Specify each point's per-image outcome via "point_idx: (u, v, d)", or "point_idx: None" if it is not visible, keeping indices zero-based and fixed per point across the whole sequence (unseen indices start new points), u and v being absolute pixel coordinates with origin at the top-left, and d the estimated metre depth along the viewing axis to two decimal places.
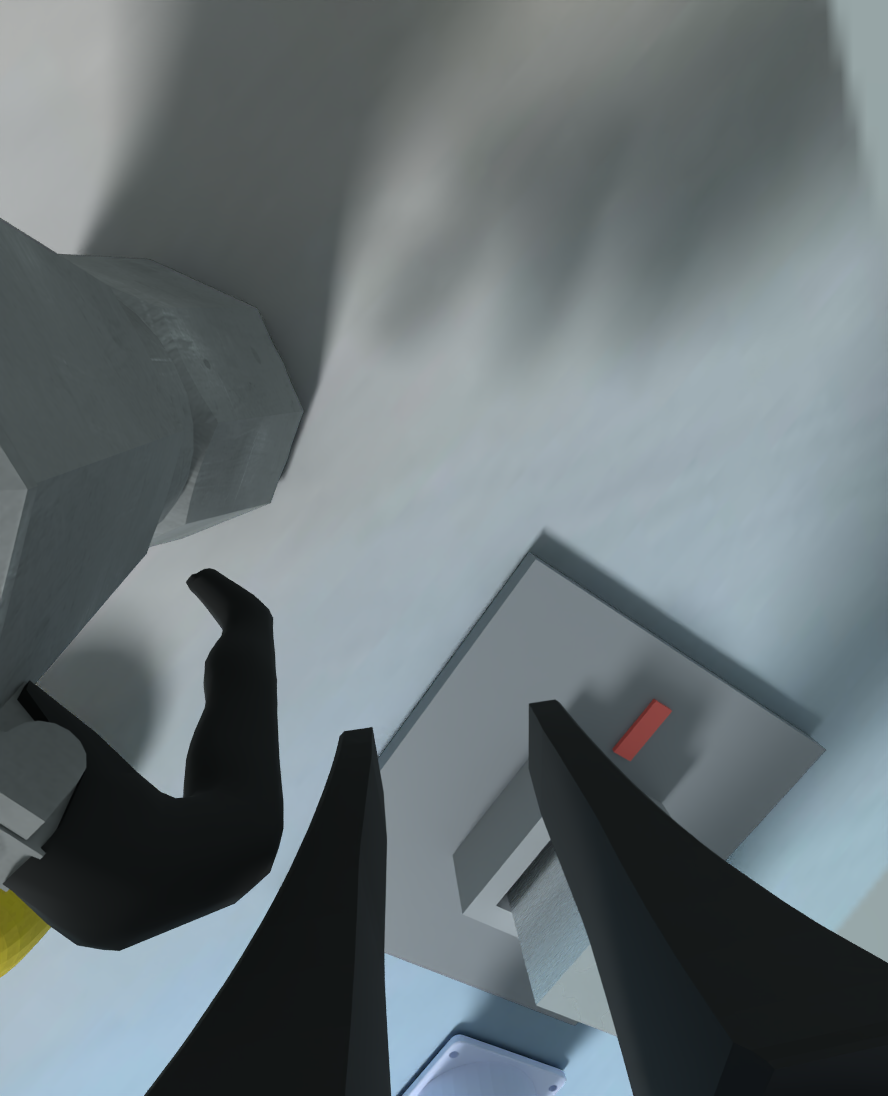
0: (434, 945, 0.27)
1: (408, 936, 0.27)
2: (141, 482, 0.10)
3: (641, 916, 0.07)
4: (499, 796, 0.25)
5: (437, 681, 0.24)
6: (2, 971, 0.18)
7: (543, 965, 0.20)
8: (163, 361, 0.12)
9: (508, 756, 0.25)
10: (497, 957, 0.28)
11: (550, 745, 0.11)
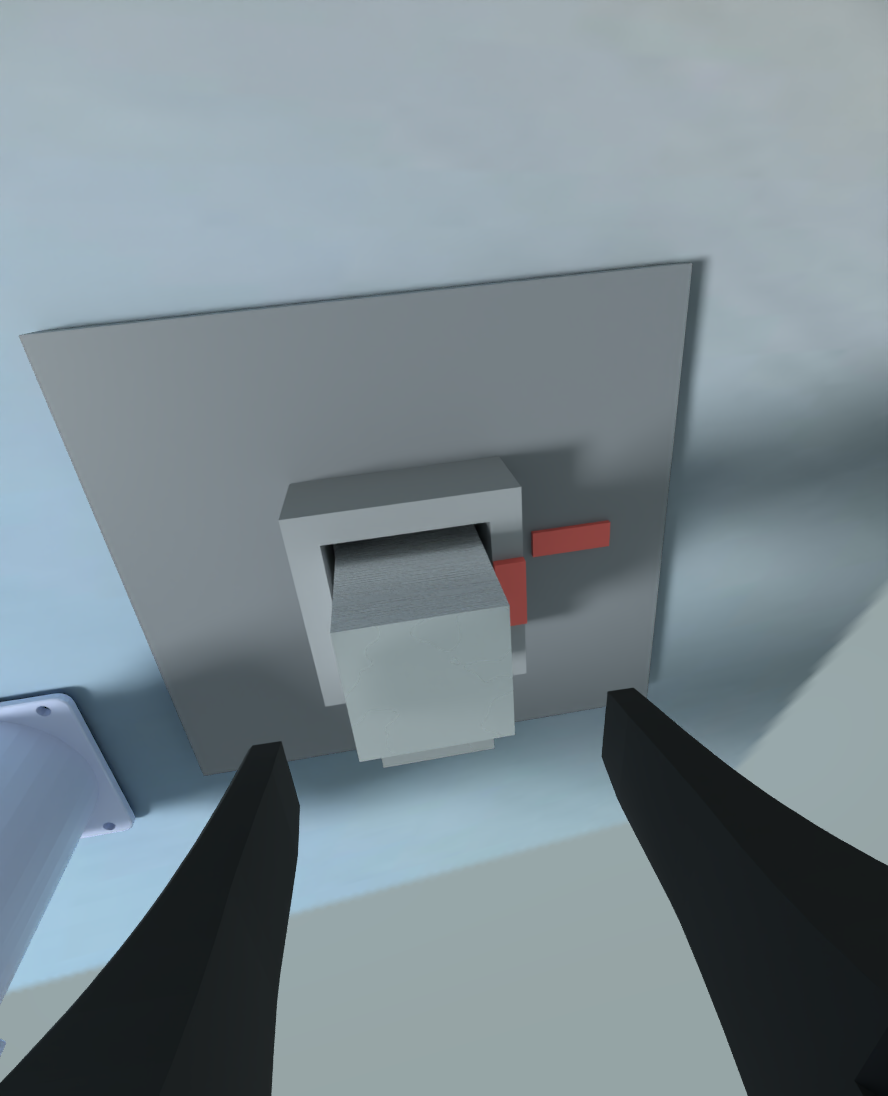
0: (161, 566, 0.19)
1: (144, 528, 0.19)
2: None
3: (765, 892, 0.08)
4: (399, 469, 0.19)
5: (473, 285, 0.17)
6: None
7: (363, 609, 0.14)
8: None
9: (452, 437, 0.19)
10: (209, 640, 0.21)
11: (638, 731, 0.11)
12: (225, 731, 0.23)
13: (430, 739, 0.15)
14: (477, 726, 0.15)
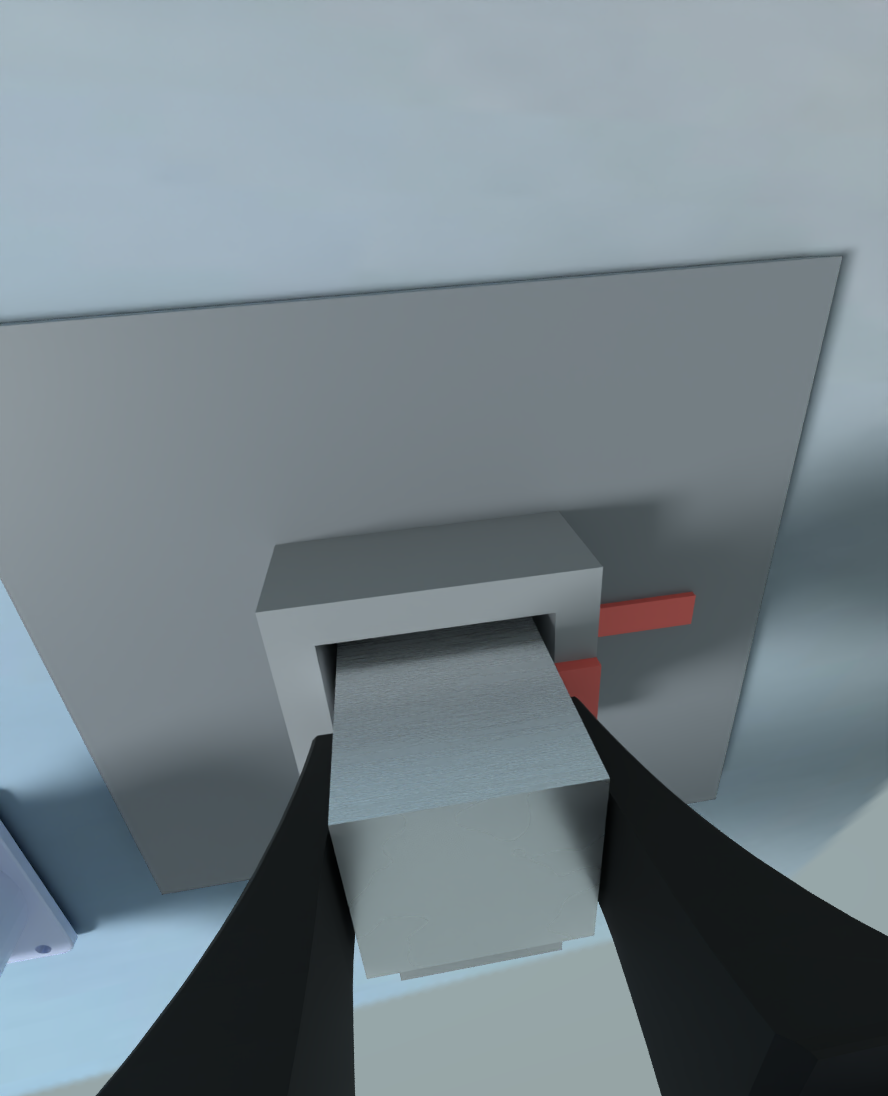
0: (100, 650, 0.14)
1: (75, 602, 0.14)
2: None
3: (673, 911, 0.07)
4: (425, 527, 0.14)
5: (536, 279, 0.13)
6: None
7: (379, 772, 0.09)
8: None
9: (498, 485, 0.14)
10: (167, 739, 0.16)
11: None
12: (189, 844, 0.18)
13: (472, 947, 0.10)
14: (542, 928, 0.10)
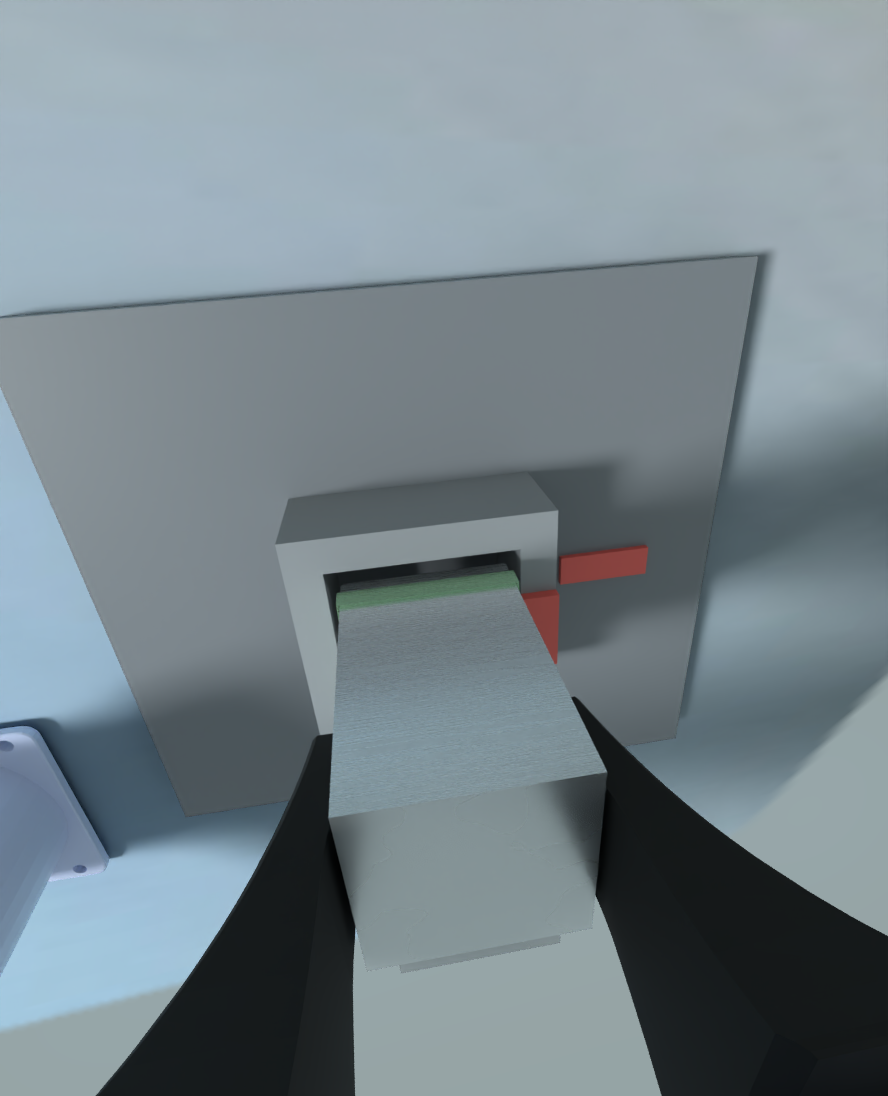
0: (139, 589, 0.17)
1: (120, 546, 0.16)
2: None
3: (673, 911, 0.07)
4: (415, 484, 0.17)
5: (505, 275, 0.15)
6: None
7: (379, 765, 0.09)
8: None
9: (475, 449, 0.16)
10: (194, 671, 0.19)
11: None
12: (210, 769, 0.21)
13: (471, 939, 0.11)
14: (540, 921, 0.11)
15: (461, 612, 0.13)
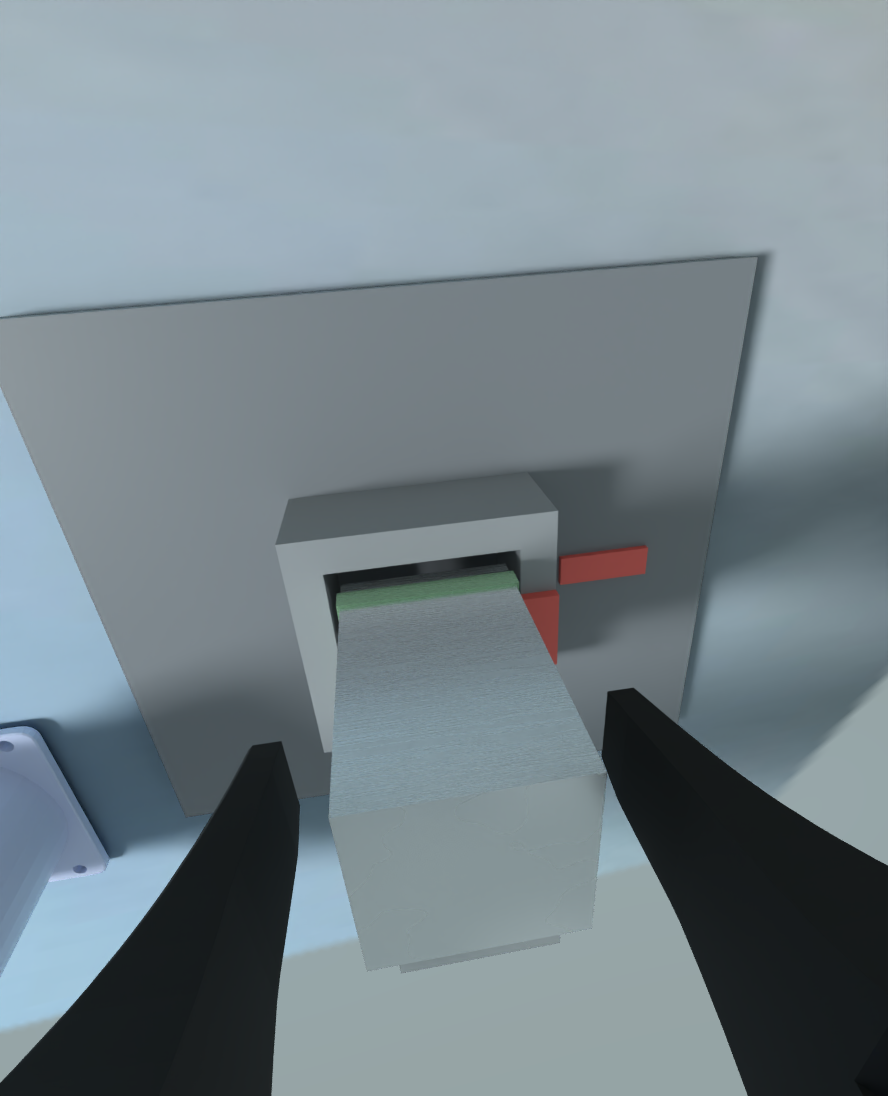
0: (140, 590, 0.17)
1: (121, 547, 0.16)
2: None
3: (765, 892, 0.08)
4: (415, 485, 0.17)
5: (505, 276, 0.15)
6: None
7: (379, 765, 0.09)
8: None
9: (475, 449, 0.17)
10: (194, 671, 0.19)
11: (638, 731, 0.11)
12: (210, 770, 0.21)
13: (471, 939, 0.11)
14: (540, 921, 0.11)
15: (461, 612, 0.13)
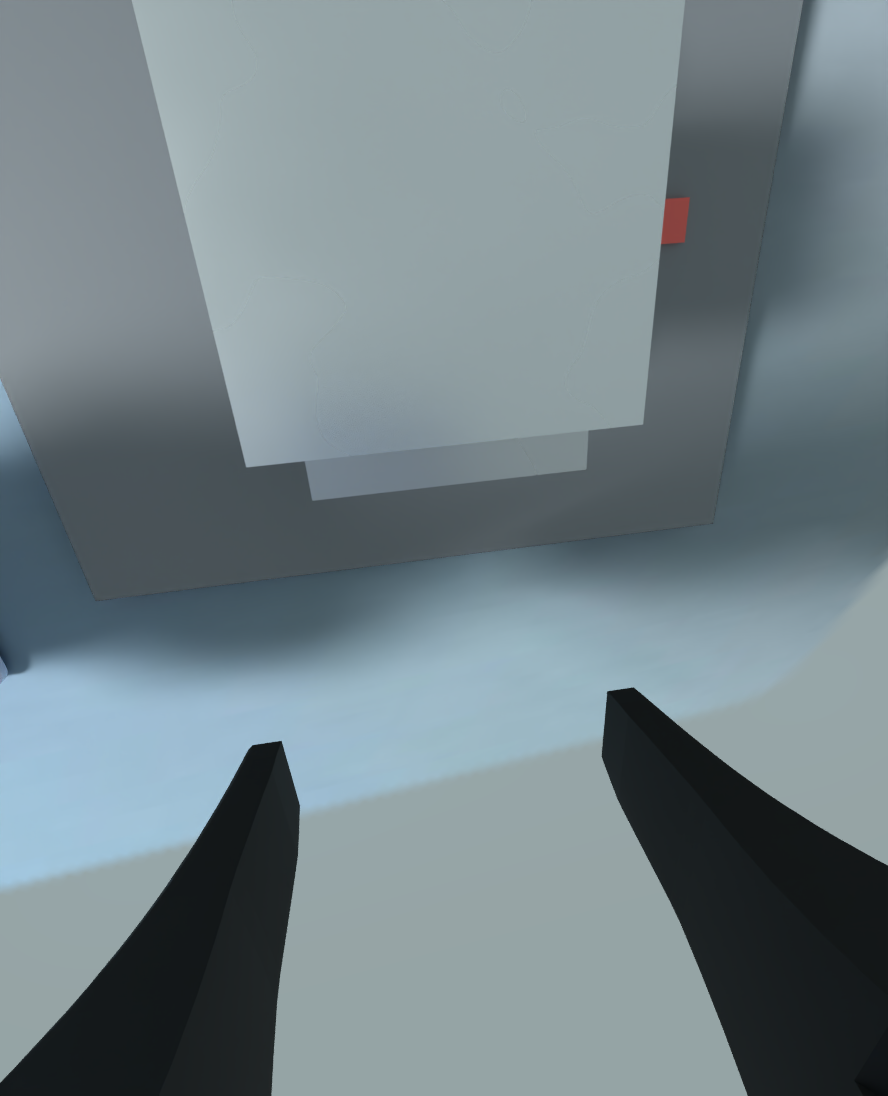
0: None
1: None
2: None
3: (765, 892, 0.08)
4: None
5: None
6: None
7: None
8: None
9: None
10: (87, 361, 0.14)
11: (638, 731, 0.11)
12: (122, 528, 0.16)
13: (431, 413, 0.06)
14: (554, 382, 0.06)
15: None
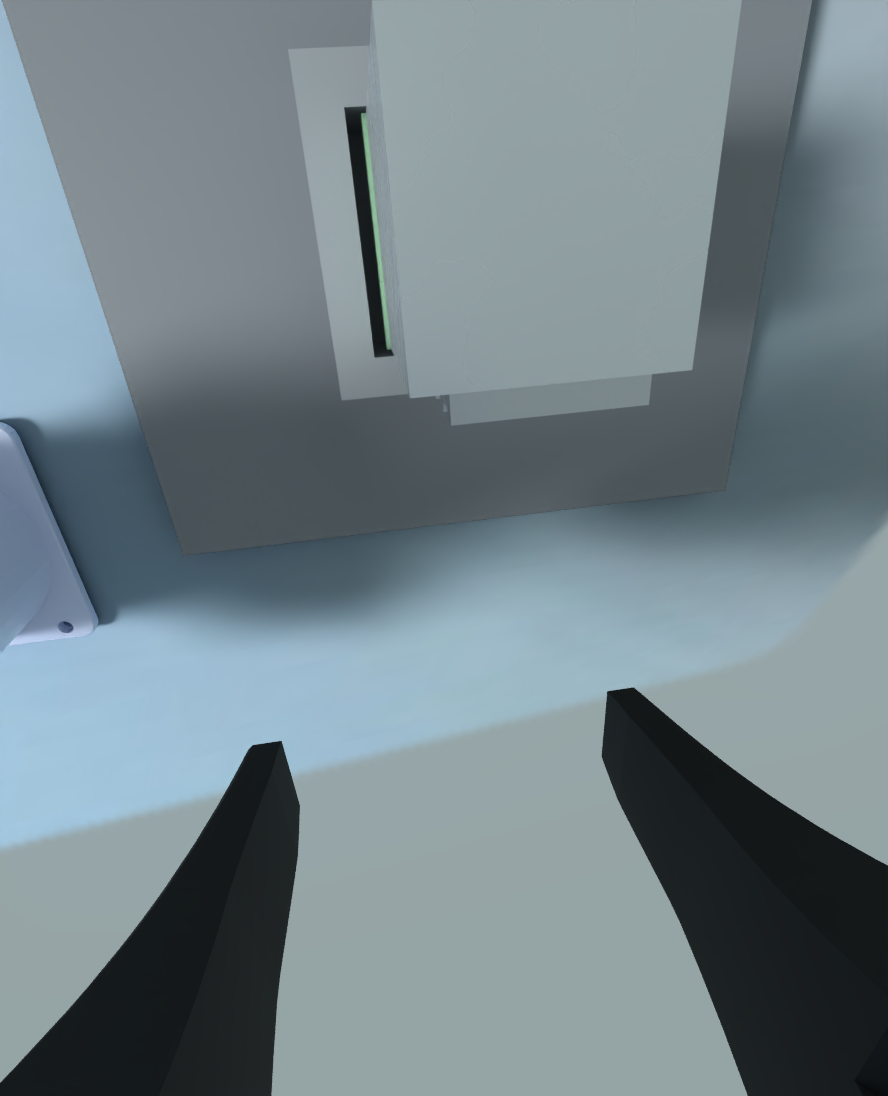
0: (129, 211, 0.15)
1: (106, 143, 0.14)
2: None
3: (765, 892, 0.08)
4: None
5: None
6: None
7: None
8: None
9: None
10: (192, 342, 0.16)
11: (638, 731, 0.11)
12: (211, 489, 0.18)
13: (542, 359, 0.08)
14: (630, 337, 0.08)
15: None
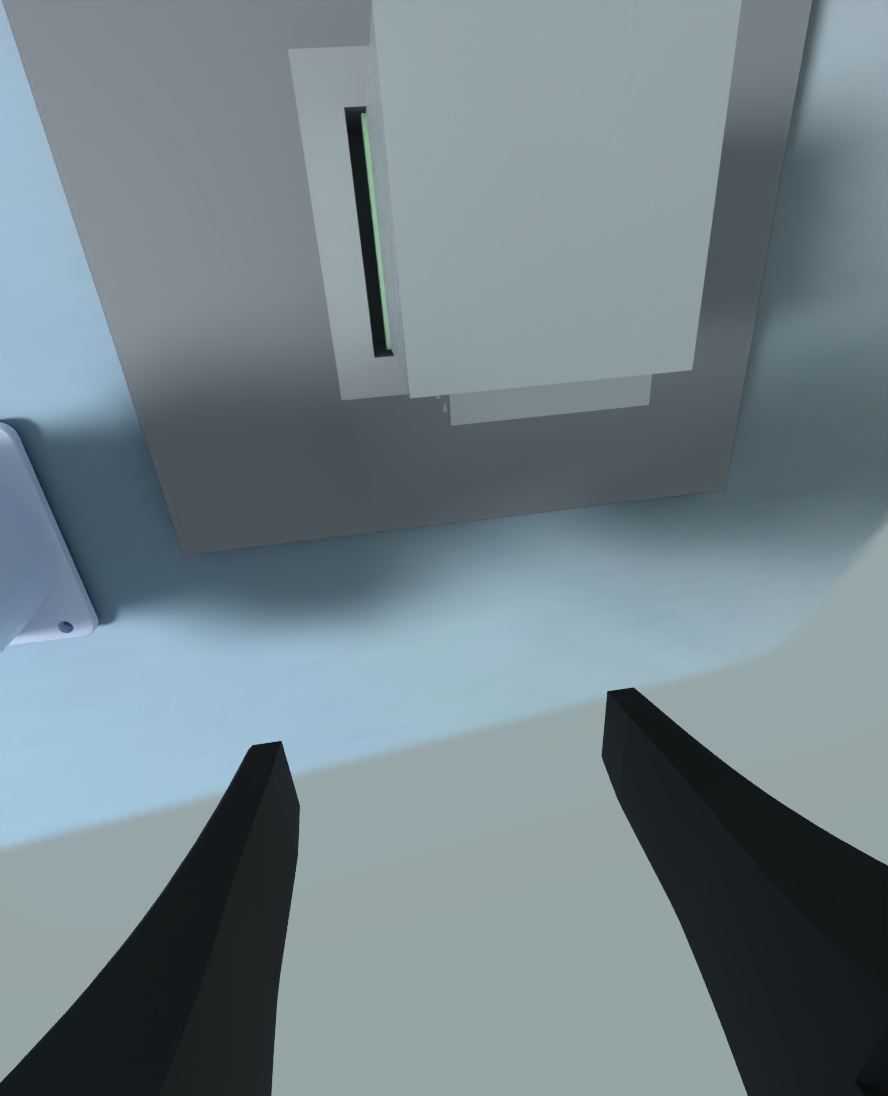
0: (129, 211, 0.15)
1: (106, 143, 0.14)
2: None
3: (765, 892, 0.08)
4: None
5: None
6: None
7: None
8: None
9: None
10: (192, 342, 0.16)
11: (638, 731, 0.11)
12: (211, 489, 0.18)
13: (542, 359, 0.08)
14: (630, 337, 0.08)
15: None
